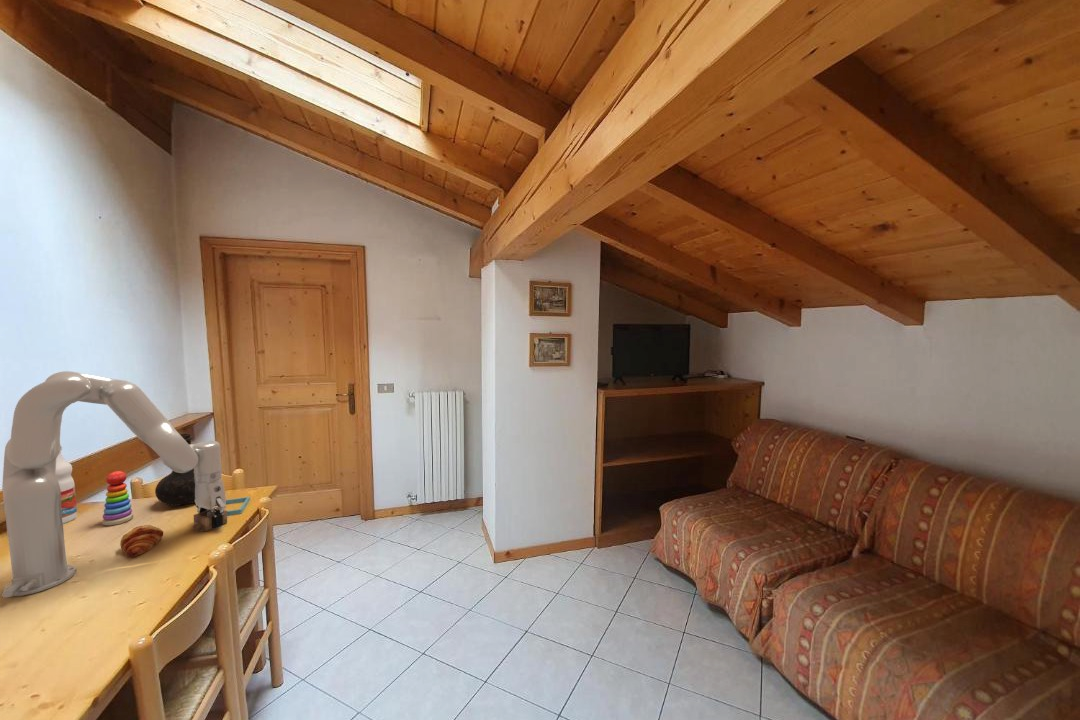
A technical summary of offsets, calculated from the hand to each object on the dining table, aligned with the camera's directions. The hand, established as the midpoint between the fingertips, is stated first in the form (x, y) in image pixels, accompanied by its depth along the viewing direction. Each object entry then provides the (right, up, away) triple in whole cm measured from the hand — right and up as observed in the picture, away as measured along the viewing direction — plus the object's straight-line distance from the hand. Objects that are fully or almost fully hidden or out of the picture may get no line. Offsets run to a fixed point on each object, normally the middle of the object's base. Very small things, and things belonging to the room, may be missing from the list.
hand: (210, 523), depth 144 cm
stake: (0, -1, 0) cm, 1 cm away
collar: (0, 0, 0) cm, 0 cm away
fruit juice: (-59, -1, +3) cm, 59 cm away
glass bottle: (-27, +1, +21) cm, 35 cm away
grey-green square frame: (-4, 0, +13) cm, 13 cm away
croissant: (-13, -3, -12) cm, 18 cm away
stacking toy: (-37, -1, +4) cm, 38 cm away
